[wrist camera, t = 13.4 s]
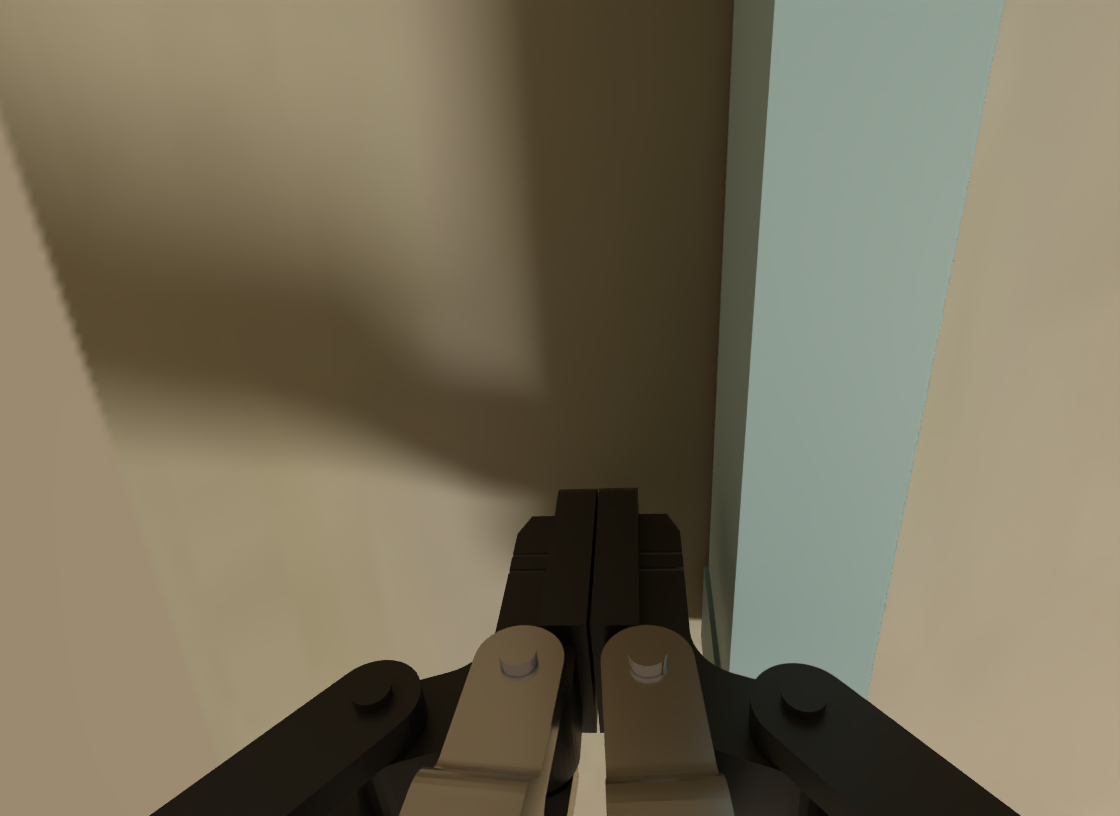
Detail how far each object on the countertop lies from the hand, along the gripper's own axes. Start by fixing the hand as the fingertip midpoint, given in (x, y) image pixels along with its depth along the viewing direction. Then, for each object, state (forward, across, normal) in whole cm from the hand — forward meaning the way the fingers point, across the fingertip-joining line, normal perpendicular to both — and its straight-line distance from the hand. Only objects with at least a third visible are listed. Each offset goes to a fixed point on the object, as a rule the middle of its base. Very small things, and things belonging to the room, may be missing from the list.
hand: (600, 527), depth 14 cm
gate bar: (+1, -3, -3) cm, 5 cm away
